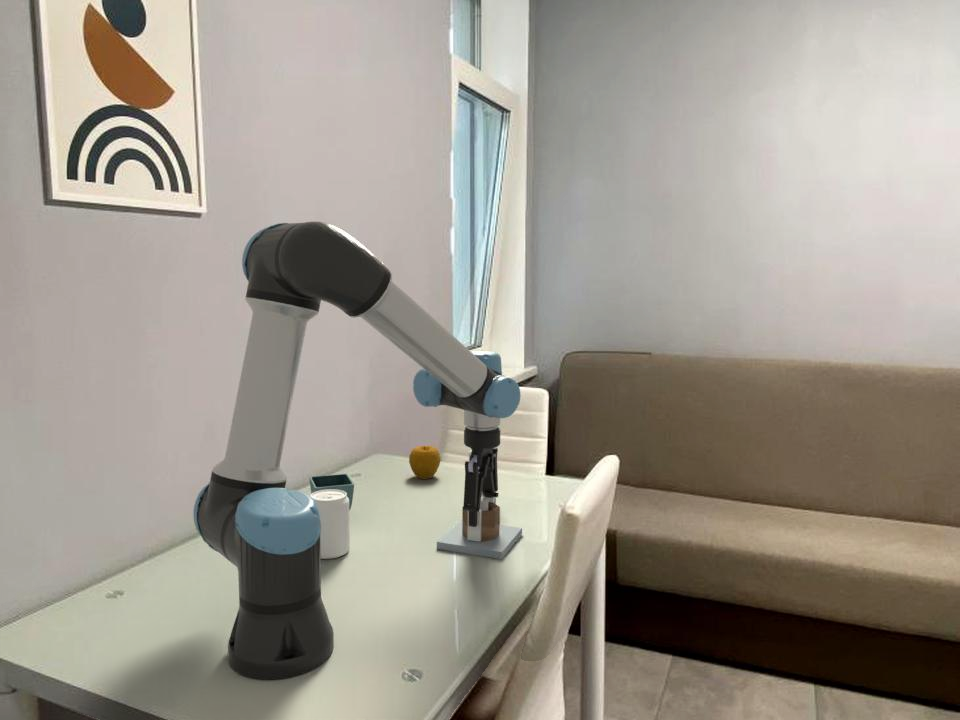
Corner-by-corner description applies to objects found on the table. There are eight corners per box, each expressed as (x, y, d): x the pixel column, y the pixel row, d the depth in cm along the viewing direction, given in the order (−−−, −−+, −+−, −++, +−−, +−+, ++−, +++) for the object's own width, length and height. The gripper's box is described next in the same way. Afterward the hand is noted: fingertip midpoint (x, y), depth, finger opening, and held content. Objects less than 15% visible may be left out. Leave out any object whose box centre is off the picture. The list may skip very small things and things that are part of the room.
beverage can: (340, 562, 137) (339, 502, 135) (301, 558, 139) (300, 499, 137) (355, 546, 145) (355, 490, 143) (318, 543, 146) (318, 487, 145)
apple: (428, 470, 199) (428, 440, 198) (446, 478, 193) (447, 446, 192) (403, 476, 194) (403, 444, 193) (421, 483, 187) (421, 451, 186)
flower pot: (355, 522, 159) (354, 483, 157) (315, 527, 155) (314, 487, 154) (347, 509, 167) (347, 472, 166) (309, 514, 163) (308, 476, 162)
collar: (491, 543, 144) (491, 514, 143) (458, 538, 146) (458, 510, 145) (502, 531, 151) (503, 503, 150) (470, 526, 153) (471, 499, 152)
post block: (501, 559, 140) (502, 515, 138) (436, 548, 144) (436, 506, 143) (522, 534, 153) (522, 494, 152) (461, 525, 157) (462, 486, 156)
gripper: (482, 439, 135) (481, 554, 138) (514, 418, 153) (512, 519, 156) (446, 435, 137) (445, 548, 140) (481, 415, 156) (480, 515, 159)
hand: (480, 533), depth 148 cm, fingers closed on collar, 7 cm apart
